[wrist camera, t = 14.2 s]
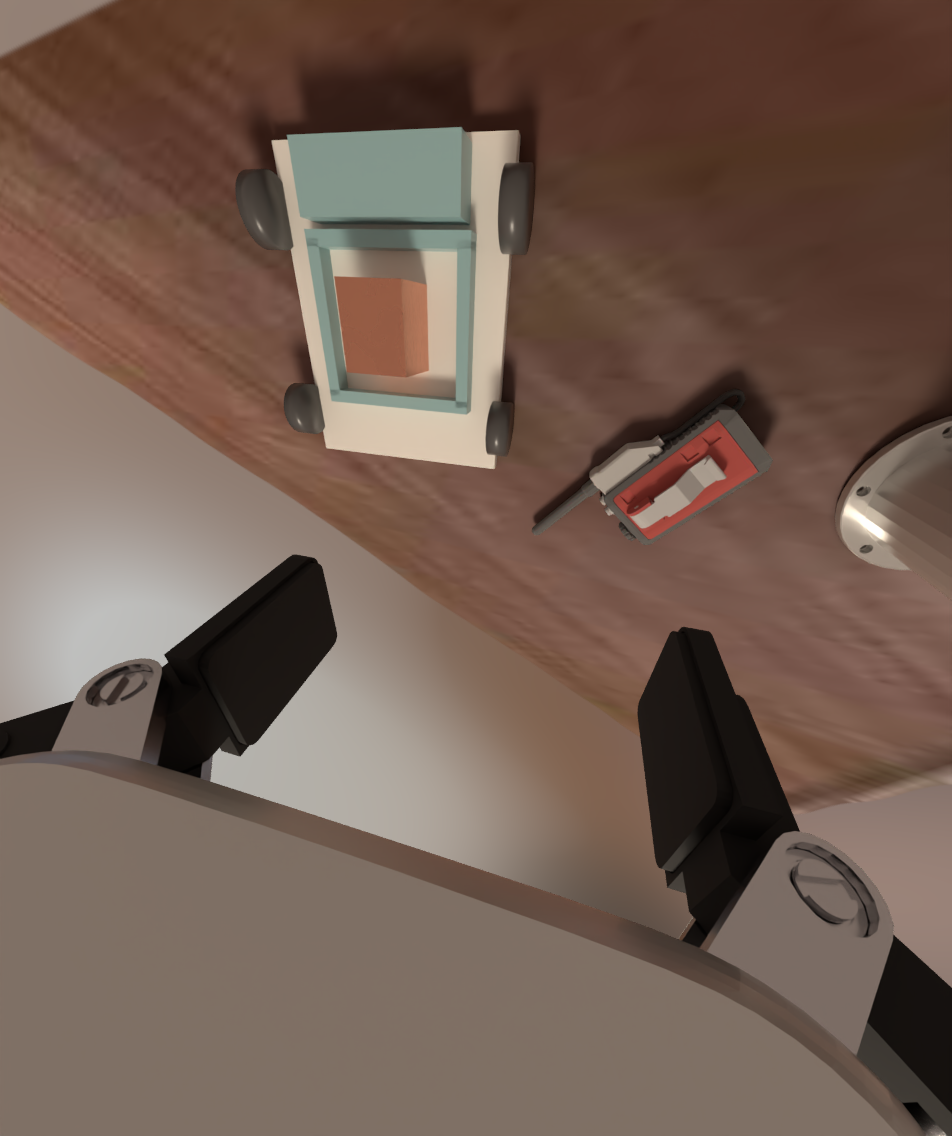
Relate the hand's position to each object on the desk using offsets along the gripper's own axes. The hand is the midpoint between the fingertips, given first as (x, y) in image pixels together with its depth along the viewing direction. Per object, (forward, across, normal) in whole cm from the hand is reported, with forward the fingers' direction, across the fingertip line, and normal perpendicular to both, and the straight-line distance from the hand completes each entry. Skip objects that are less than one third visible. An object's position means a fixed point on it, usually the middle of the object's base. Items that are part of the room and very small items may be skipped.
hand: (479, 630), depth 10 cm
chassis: (+28, +14, -6) cm, 32 cm away
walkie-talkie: (+29, -8, +6) cm, 31 cm away
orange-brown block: (+27, +14, -6) cm, 31 cm away
